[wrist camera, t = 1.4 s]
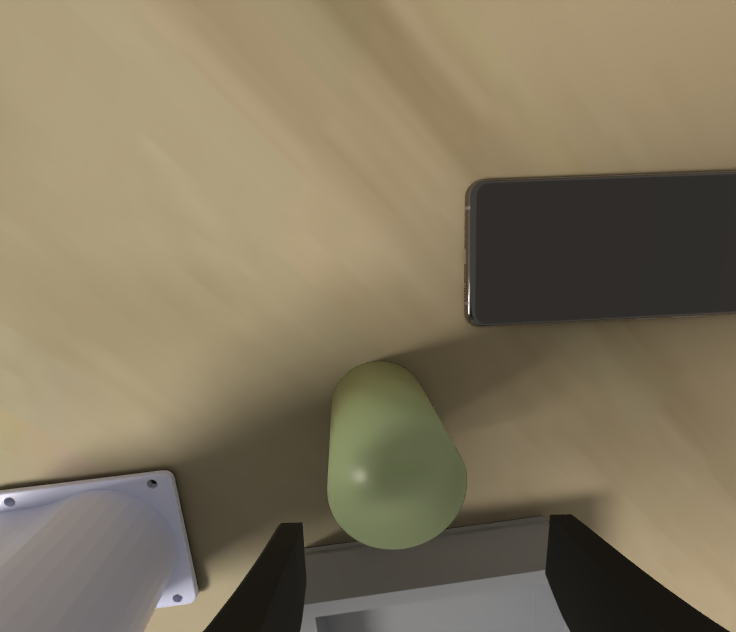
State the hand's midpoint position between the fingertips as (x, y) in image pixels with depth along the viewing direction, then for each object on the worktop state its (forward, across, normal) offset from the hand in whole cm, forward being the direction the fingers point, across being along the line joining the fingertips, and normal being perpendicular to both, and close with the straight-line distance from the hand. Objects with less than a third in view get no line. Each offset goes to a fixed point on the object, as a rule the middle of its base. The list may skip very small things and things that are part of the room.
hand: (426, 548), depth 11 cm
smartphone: (+11, -11, -8) cm, 18 cm away
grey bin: (+9, -2, +14) cm, 17 cm away
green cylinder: (+10, +1, 0) cm, 10 cm away
